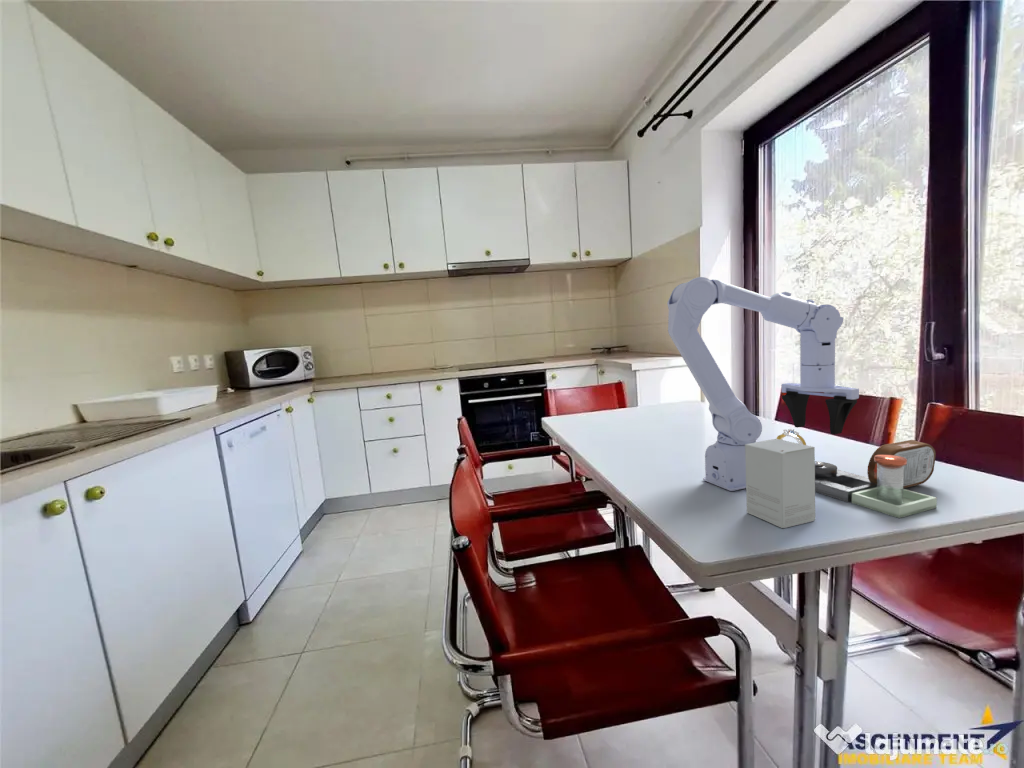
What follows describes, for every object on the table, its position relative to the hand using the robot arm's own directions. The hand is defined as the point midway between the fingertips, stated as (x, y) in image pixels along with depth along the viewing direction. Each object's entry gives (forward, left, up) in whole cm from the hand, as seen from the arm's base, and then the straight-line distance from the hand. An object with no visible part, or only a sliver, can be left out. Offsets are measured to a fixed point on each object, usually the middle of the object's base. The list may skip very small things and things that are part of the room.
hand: (817, 429), depth 86 cm
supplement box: (-22, -10, -11) cm, 26 cm away
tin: (+7, -11, -10) cm, 17 cm away
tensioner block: (-2, -5, -10) cm, 12 cm away
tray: (-2, -15, -10) cm, 18 cm away
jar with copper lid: (-2, -14, -10) cm, 17 cm away
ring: (+5, +10, -11) cm, 15 cm away
